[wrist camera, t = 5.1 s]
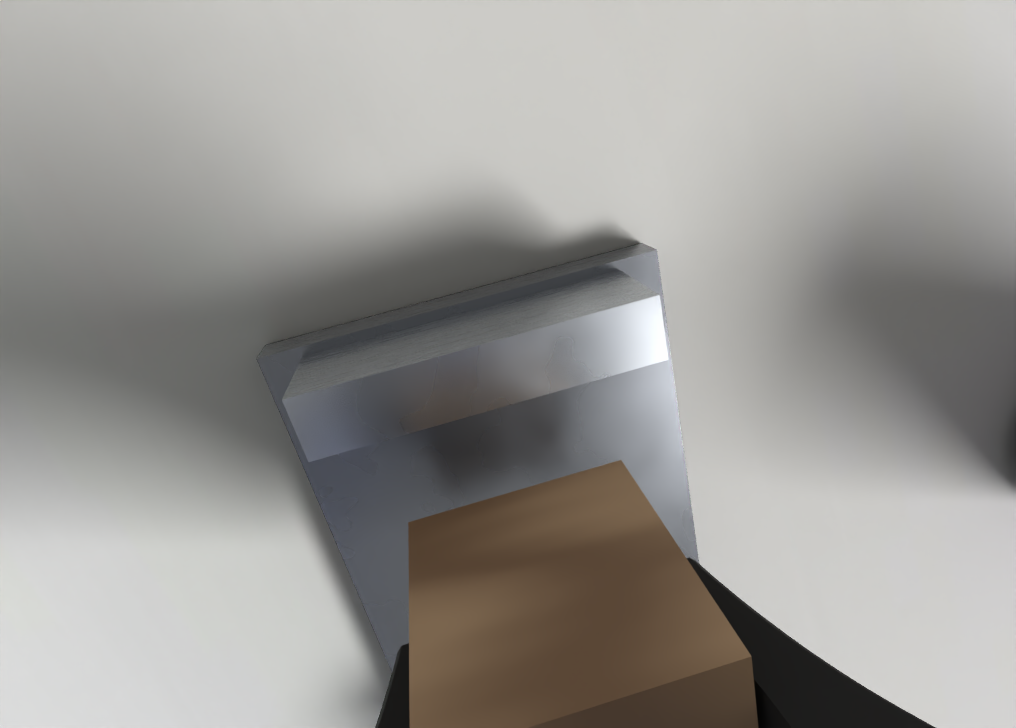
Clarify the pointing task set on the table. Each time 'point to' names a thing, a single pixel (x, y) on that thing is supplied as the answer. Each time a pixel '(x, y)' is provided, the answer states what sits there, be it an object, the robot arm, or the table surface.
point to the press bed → (482, 409)
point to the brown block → (567, 616)
